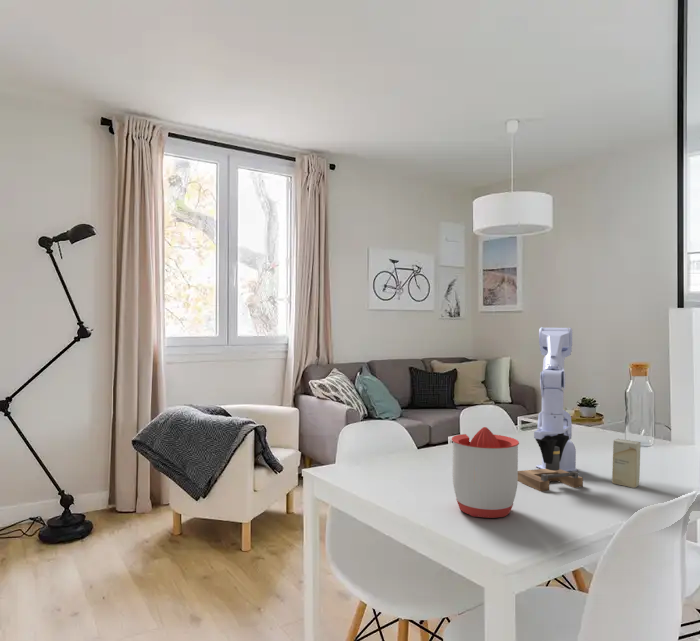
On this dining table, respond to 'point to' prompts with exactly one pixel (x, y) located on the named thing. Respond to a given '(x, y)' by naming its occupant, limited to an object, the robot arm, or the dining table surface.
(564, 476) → the wooden bracket with rod
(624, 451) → the skincare box
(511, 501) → the citrus juicer
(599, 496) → the dining table surface
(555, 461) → the grey cylinder with band
